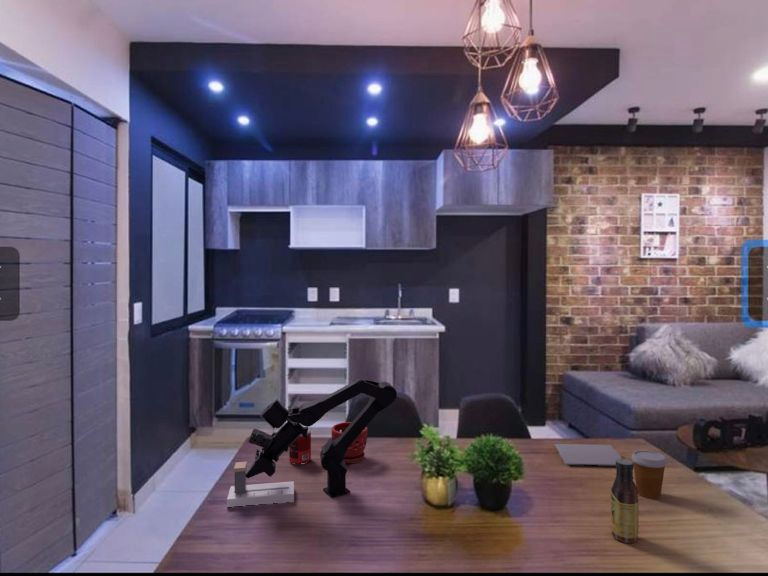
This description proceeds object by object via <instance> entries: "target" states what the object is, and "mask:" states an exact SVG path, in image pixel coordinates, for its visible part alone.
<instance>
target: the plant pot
mask: <svg viewBox="0 0 768 576" xmlns="http://www.w3.org/2000/svg"><path fill="white" fill-rule="evenodd" d="M351 422H352V421H351ZM351 422H350V421H345V422H339V423H336V424H334V425H332V427H331V439H332V440H335V439H337V438H338V437H339V436H340V435H341V434H342V433H343V432H344V431H345V429H346V428H347V427H348V426H349V425H350V424H351ZM367 442H368V426H367V427H366V428H365V429H364V430H363V431H362V432H361V434H360V435H359V436H358V437H357V438H356V440H355V441H354V442H353V443H352V444H351V445H350V447H349V448H348V450H347V452H346V454H345V456H344V461H345V464H354V463H355V464H356V463H358V462H360V461H362V460H363V459H364V458H365V454H366V453H365V449H366V446H367Z"/></svg>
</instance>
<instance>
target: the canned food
mask: <svg viewBox="0 0 768 576" xmlns="http://www.w3.org/2000/svg"><path fill="white" fill-rule="evenodd" d="M307 435H308V437H307V438H305V437H304V436H303V435H302V434H301V435H300V436H299V437H298V438H297V439H296V440H295V441H294V442H293V443H292V444H291V445H290V446H289V450H288V452H289V454H288V457H289V458H288V459H289V463H290V462H291V463H295V464H301V463H306V462H308V461H310V462H311V459H312V444H311V443H312V431H311V429H310V428H308V432H307ZM291 463H290V464H291Z"/></svg>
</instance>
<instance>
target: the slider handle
mask: <svg viewBox="0 0 768 576" xmlns="http://www.w3.org/2000/svg"><path fill="white" fill-rule="evenodd" d="M247 462H248V461H241V462H240V461H238V462H235V464H234V467H233V473H234V486H235V493H245V491H246V487H247V485H248V484H247V481H248V480H247V479H248V478H247V477H246V474H247V466H248V463H247Z"/></svg>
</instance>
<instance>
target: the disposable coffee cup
mask: <svg viewBox="0 0 768 576" xmlns="http://www.w3.org/2000/svg"><path fill="white" fill-rule="evenodd" d="M630 459H631V461H632V462H633V464H634V467H633V471H634V478H635V479H634V480H635V485H636V487H637V489H638V496H641V497H644V498H647V499H653V500H654V499H656V500H657V499H659V498H661V496H662V495H661V494H662V488H663V481H664V476H665V475H664V474H665V469H666V468H665V467H666V466H667V463H668V462H667V460H666V456H665V455H663V454H661V453H659V452H657V451H656V452H655V451H651V450H647V449H646V450H644V449H643V450H641V449H640V450H639V449H637V450H634V451H633V452H632V455H631V457H630Z"/></svg>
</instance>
